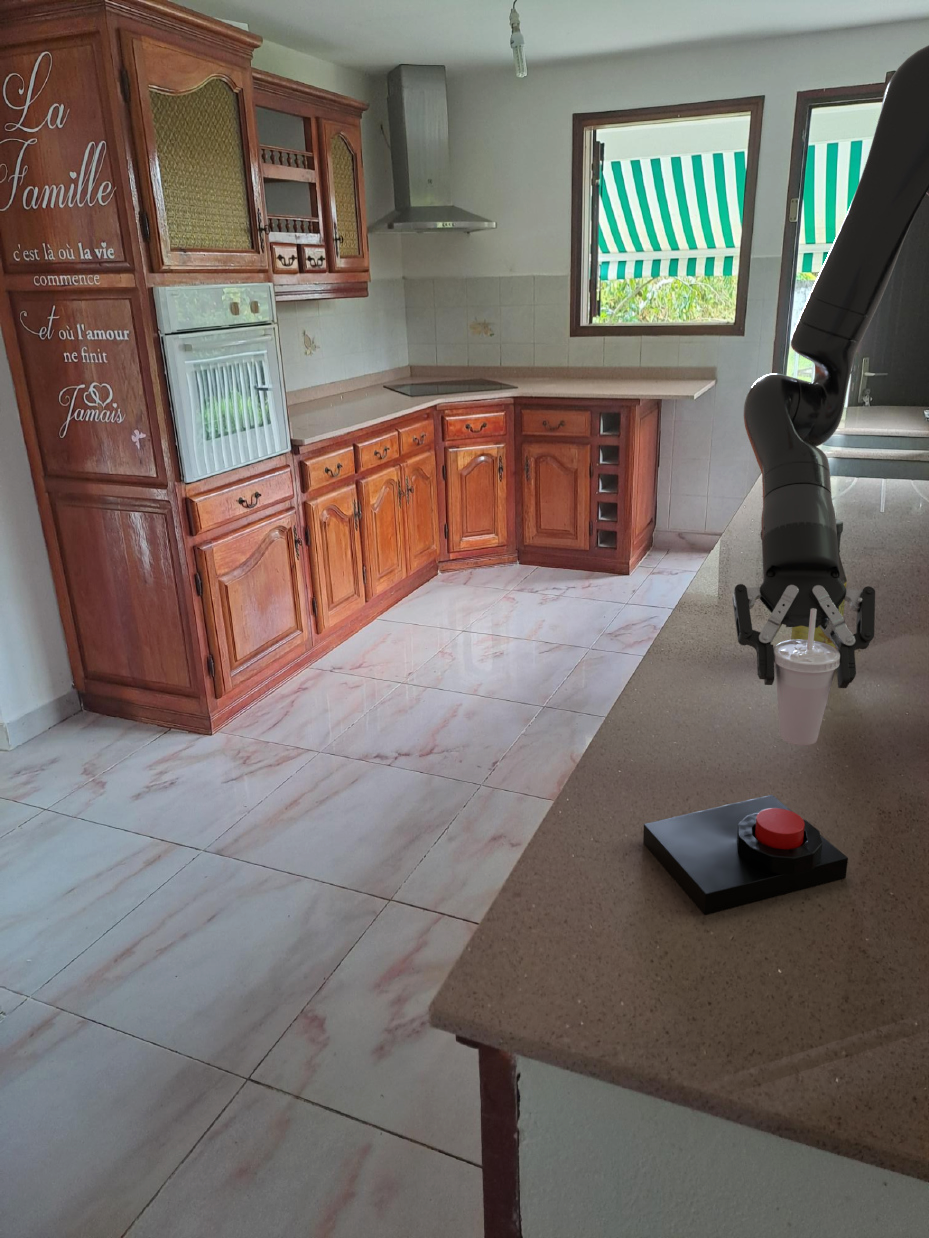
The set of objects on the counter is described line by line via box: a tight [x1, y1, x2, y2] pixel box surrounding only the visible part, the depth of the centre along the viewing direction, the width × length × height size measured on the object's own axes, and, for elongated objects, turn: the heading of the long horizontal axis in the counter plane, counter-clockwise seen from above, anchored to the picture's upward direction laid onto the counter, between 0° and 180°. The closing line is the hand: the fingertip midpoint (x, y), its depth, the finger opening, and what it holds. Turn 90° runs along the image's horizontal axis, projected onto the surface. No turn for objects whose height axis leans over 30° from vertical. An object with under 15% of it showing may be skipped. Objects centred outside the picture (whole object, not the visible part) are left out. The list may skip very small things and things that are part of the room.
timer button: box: [755, 808, 805, 850], centre depth 77 cm, size 4×4×2 cm
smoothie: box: [773, 608, 840, 746], centre depth 89 cm, size 6×6×14 cm
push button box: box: [642, 794, 849, 916], centre depth 80 cm, size 14×12×4 cm
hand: (806, 683), depth 87 cm, fingers closed on smoothie, 6 cm apart
